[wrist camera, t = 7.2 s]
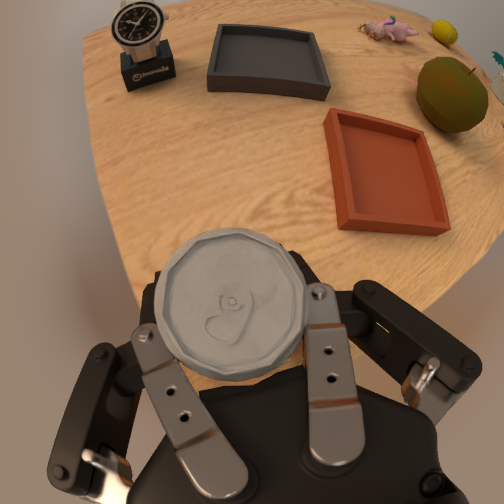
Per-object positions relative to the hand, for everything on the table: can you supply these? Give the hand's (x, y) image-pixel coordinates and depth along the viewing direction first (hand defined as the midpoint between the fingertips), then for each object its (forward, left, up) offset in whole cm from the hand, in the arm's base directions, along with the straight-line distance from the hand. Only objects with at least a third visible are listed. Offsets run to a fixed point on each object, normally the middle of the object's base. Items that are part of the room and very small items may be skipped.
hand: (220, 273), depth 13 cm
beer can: (0, -2, -6) cm, 6 cm away
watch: (-10, +23, -6) cm, 26 cm away
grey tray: (+3, +25, -6) cm, 26 cm away
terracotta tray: (+14, +10, -6) cm, 19 cm away
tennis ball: (+48, +58, -6) cm, 76 cm away
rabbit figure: (+26, +43, -6) cm, 51 cm away
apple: (+26, +22, -6) cm, 35 cm away
